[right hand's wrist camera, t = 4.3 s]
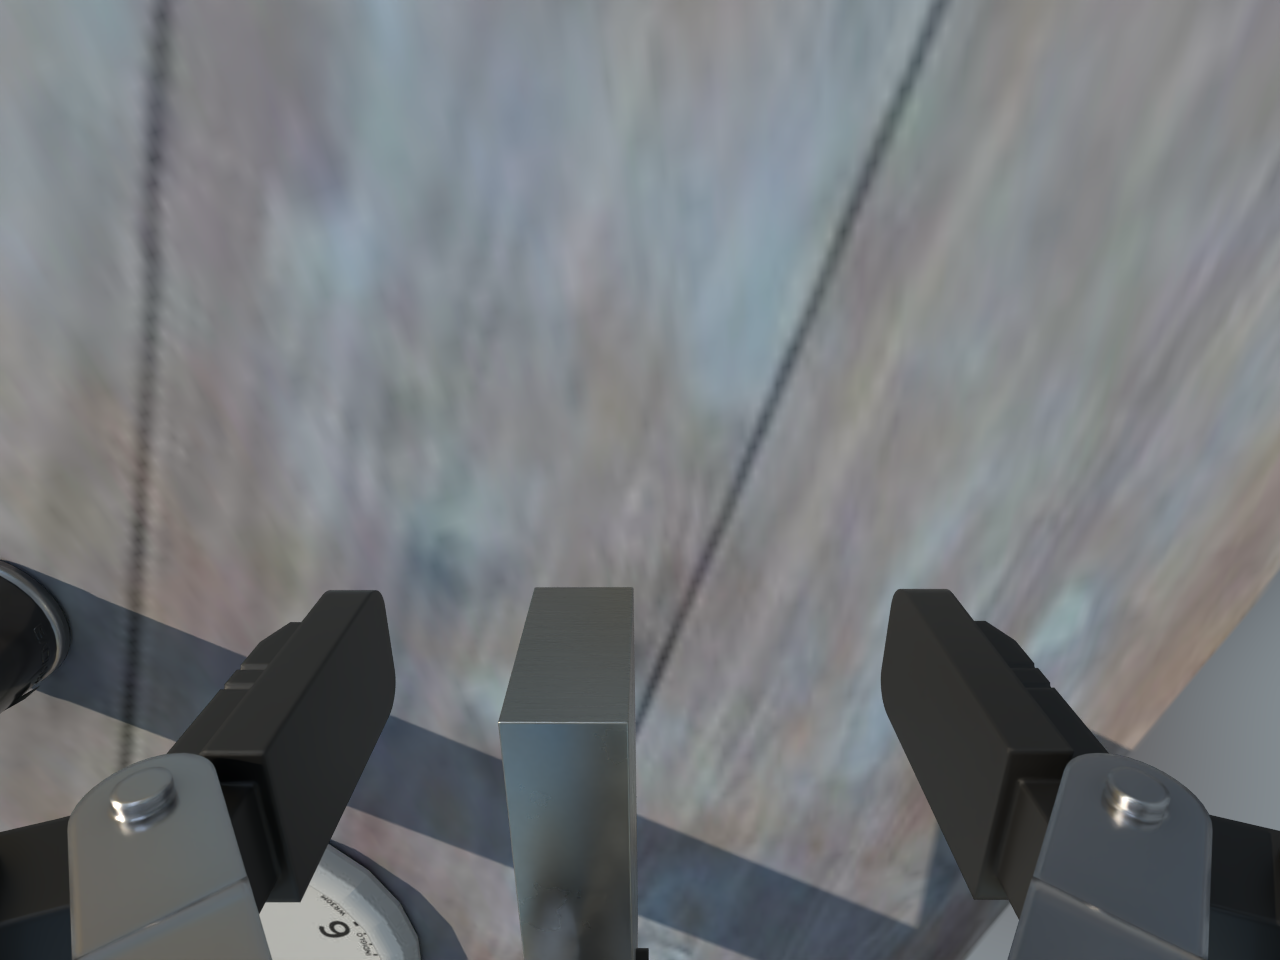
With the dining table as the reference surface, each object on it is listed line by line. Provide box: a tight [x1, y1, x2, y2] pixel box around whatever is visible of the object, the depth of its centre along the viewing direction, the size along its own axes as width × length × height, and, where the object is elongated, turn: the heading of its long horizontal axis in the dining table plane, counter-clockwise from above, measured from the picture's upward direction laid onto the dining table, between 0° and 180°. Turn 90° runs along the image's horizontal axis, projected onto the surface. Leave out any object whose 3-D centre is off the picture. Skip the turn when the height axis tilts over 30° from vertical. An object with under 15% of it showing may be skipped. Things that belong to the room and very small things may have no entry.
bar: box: [498, 587, 638, 960], centre depth 35 cm, size 23×5×9 cm, turn 1°
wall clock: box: [259, 844, 421, 960], centre depth 57 cm, size 30×2×30 cm
